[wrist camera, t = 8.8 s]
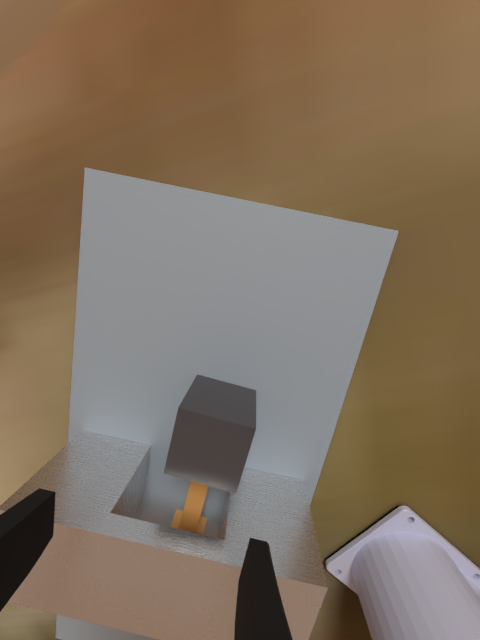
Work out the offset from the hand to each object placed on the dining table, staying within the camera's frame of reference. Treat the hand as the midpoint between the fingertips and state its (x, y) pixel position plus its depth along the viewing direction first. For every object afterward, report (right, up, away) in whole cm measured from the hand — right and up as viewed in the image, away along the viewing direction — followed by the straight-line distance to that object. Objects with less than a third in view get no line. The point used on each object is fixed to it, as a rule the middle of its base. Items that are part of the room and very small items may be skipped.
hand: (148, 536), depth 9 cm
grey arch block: (-1, -4, +10) cm, 11 cm away
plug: (+1, -2, +9) cm, 9 cm away
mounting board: (-1, -4, +10) cm, 11 cm away
